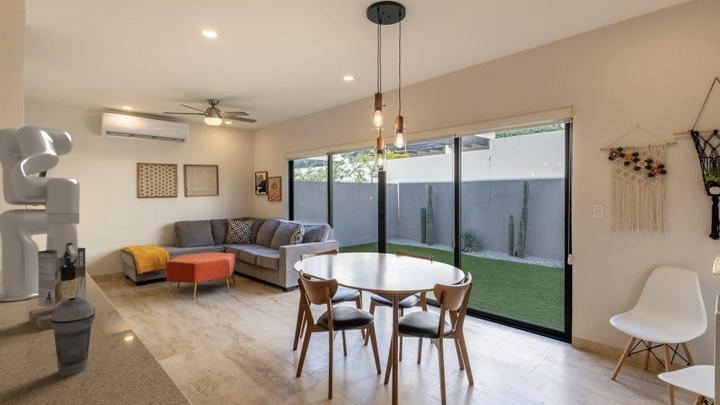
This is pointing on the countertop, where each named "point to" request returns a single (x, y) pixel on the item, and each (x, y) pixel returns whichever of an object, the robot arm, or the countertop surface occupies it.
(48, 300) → the coffee box
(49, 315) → the walnut base
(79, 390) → the countertop surface
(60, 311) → the beverage cup
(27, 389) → the countertop surface
